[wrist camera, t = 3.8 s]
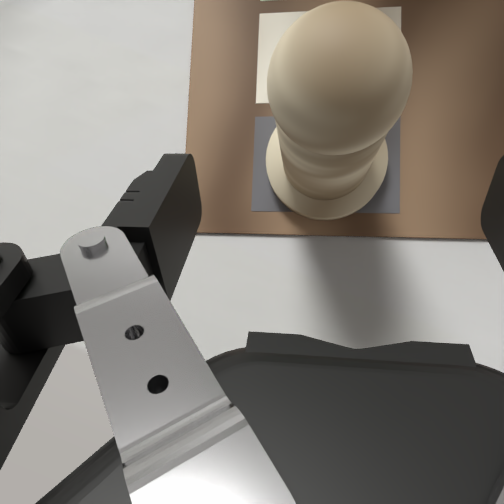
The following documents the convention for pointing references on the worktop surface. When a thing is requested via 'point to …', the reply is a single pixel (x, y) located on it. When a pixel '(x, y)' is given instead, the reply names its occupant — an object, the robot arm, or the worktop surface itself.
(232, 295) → the worktop surface
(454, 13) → the game board
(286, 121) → the birch pawn
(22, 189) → the worktop surface
